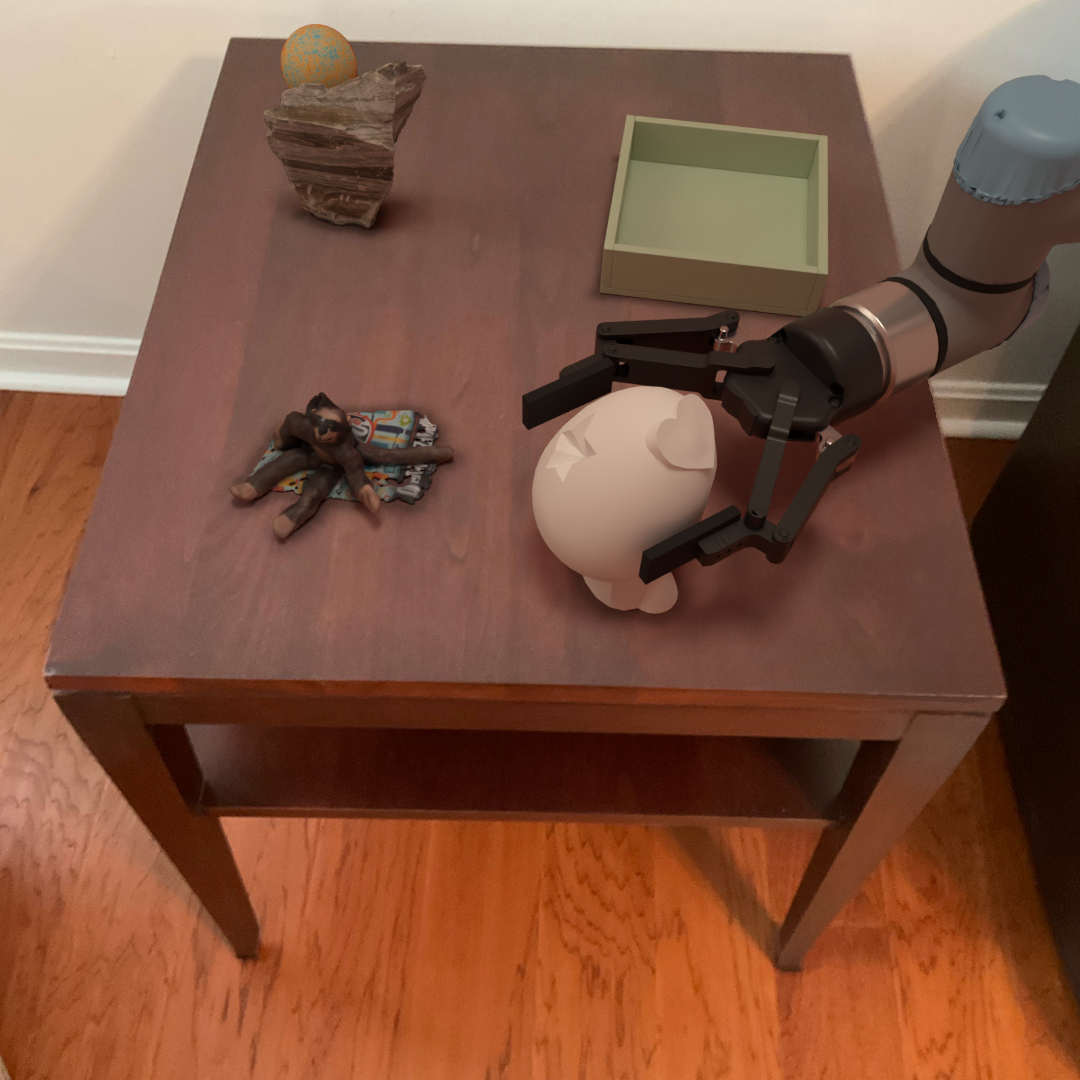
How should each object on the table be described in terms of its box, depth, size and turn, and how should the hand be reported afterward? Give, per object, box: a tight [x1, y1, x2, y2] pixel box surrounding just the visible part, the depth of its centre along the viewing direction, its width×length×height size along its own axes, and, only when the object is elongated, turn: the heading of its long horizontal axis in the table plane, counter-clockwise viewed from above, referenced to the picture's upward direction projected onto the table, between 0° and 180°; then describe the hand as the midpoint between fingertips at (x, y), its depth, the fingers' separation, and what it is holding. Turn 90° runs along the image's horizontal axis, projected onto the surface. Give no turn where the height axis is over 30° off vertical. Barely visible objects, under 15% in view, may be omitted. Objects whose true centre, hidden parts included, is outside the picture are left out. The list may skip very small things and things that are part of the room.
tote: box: [599, 114, 829, 318], centre depth 87 cm, size 18×18×5 cm
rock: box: [263, 58, 427, 230], centre depth 84 cm, size 13×6×15 cm, turn 72°
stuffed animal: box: [228, 391, 455, 539], centre depth 74 cm, size 12×10×12 cm
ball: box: [280, 23, 358, 89], centre depth 96 cm, size 7×7×7 cm
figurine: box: [531, 385, 718, 615], centre depth 65 cm, size 11×11×15 cm
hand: (580, 487), depth 63 cm, fingers open, 13 cm apart
